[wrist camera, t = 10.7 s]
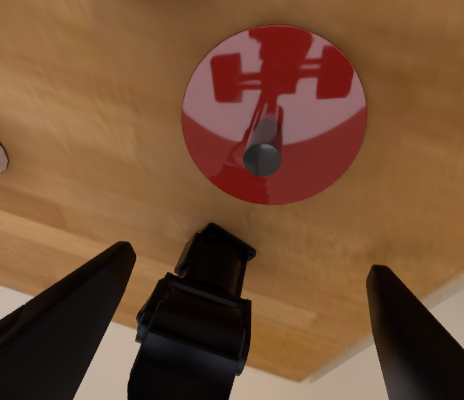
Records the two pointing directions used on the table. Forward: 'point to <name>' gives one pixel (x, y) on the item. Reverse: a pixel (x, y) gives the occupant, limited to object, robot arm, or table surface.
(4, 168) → the white cup
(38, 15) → the table surface
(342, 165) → the lid
